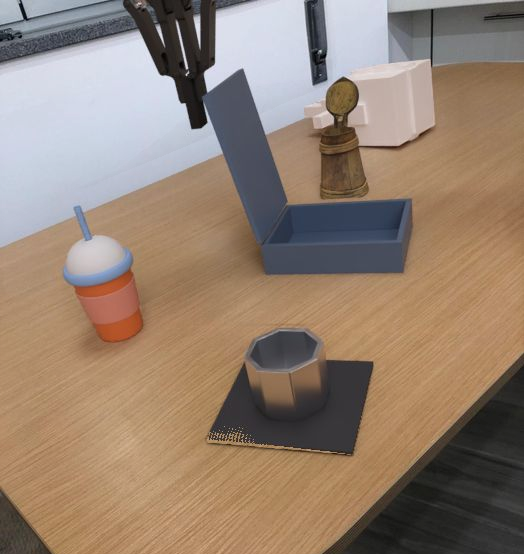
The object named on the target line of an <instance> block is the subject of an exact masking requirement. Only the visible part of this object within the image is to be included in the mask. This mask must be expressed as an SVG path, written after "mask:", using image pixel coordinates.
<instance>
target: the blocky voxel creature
mask: <svg viewBox="0 0 524 554" xmlns="http://www.w3.org/2000/svg"><path fill="white" fill-rule="evenodd" d="M431 63H432V62H431V58H428V59H427V58H426V59H418V60H409V61H408V60H407V61H400V62H399V61H398V62H391V63H381V64H373V65H372V66H363V67H358V68H355V69H353V70H351V71H350V75H349V76H347V77H346V78H348V79H349V80H351V81H353V82H354V83H355V84H356V86H357V88H358V91H359V100H358V104H357V106H356V107H355V109H354V110H353V111H352V112H351V113H350V114H349V115H348V126H347V127H354V128H355V132H356V134H357V136H358V140H359V144H358V146H359V147H360V146H361V147H367V146H368V147H399V146H401V145H403V144H405V143H406V142H412V141H413V140H415V139H416V138H418V137H419V136H420V134H422V133H424V132H425V131H427V130H430V129H431V128H432V127H434V126H435V125H436V116H435V104H434V103H435V102H434V89H433V75H432V64H431ZM303 114H304V118H305V119H310V118H311V119H312V125H313V129H314V130H315V129H324V128H326V127H328V126H333V125H334V117H333V116H332V115H331V114H330V113H329V112H328V111H327V109H326V97H323V98H321V99H318V100H317V101H316V103H310V104H308V105H306V106H303ZM340 115H341V114H340ZM342 115H344V114H342Z"/></svg>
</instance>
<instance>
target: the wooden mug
mask: <svg viewBox="0 0 524 554" xmlns="http://www.w3.org/2000/svg"><path fill="white" fill-rule="evenodd" d="M325 98H326V109H327V111H328V112H329V113H330V114H331V115H332V116H333V117H334V125H332V127H330V128H325V129H324V130H322V131H321V132H320V139H319V144H318V145H319V146H318V148H319V149H318V151H319V152H320V183H319V193H320V194H319V195H320V197H321V199H323V200H335V199H338V200H339V199H354V198H357V199H358V198H360V197H363V196H365V195H366V194H368V192H369V183H368V178H367V176H366V175H365V171H364V165H363V160H362V156H361V152H360V146H358V144H359V140H358V136H357V134H356V132H355V128H354V127H347V126H348V115H349V114H350V113H351V112H352V111H353V110H354V109H355V107H356V106H357V104H358V100H359V91H358V88H357V86H356V84H355V83H354V82H353V81H351V80H349V79H348V78H347V77H345V76H342V77H340V78H337V80H335V81H334V82H333V83H332V84H331V85H330V86H329V88H328V89H327V90H326V94H325ZM340 114H341V115H340ZM342 114H344V115H342Z"/></svg>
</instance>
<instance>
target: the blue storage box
mask: <svg viewBox="0 0 524 554" xmlns="http://www.w3.org/2000/svg"><path fill="white" fill-rule="evenodd" d="M413 224H414V221H413V198H411V197H407V198H393V199H392V198H390V199H389V198H388V199H372V200H371V199H370V200H355V201H354V200H353V201H334V202H315V203H314V202H313V203H295V204H286V205H285V207H284V208H283V210H282V212H281V213H280V215H279V217H278V218H277V220H276V221H275V223H274V225H273V226H272V228H271V229H270V231H269V233H268V234H267V236H266V237H265V239H264V241H263V242H262V243H261V244H260V251H261V257H262V262H263V267H264V272H265V276H269V275H270V276H273V275H277V276H279V275H280V276H281V275H344V274H345V275H346V274H349V275H350V274H351V275H352V274H403V273H404V270H405V265H406V261H407V257H408V251H409V247H410V241H411V237H412V232H413V226H414V225H413Z"/></svg>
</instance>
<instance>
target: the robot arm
mask: <svg viewBox="0 0 524 554" xmlns="http://www.w3.org/2000/svg"><path fill="white" fill-rule="evenodd" d="M217 1H218V0H200V5H199V38H198V33H197V28H196V24H195V19H194V15H195V11H194V10H195V9H194V6H193V2H194V0H123V1H122V6H123V8H124V9H125V10H126V11H127V13H128V14H129V15H130V16H131V17H132V19H133V20H134V22H135V25H136V27H137V29H138V31H139V33H140V35H141V38H142V40H143V42H144V44H145V46H146V48H147V51H148V53H149V55H150V58H151V60H152V62H153V64H154V66H155V69H156V70H157V73H158V75H160V76H161V77H165V76H166V77H169V78H171V79H172V80H173V81H174V85H175V90H176V94H177V98H178V101H179V103H180V104H185V109H186V113H187V117H188V121H189V125H190V129H191V130H201V129H202V128H204V127H205V126H206V125H208V123H209V122H208V115H207V111H206V107H205V104H204V102H203V99H202V97H203V96H204V95H205V94H207V93H208V88H207V84H206V79H205V73H206V71H208V70H209V69H211V68H212V67H214V66H215V64H216V37H217V36H216V35H217V34H216V33H217V31H216V30H217V29H216V28H217V27H216V26H217V25H216V24H217V23H216V22H217ZM147 3H148V4H149V6H150V7H151V8H152V9H153V10H154V14H155V18H156V22H157V23H158V24H159V27H160V32H161V35H160V33H159V31H158V28H157V26H156V25H155V22H154V20H153V17H152V15H151V13H150V11H149V10H148V8H147ZM177 24H178V25H177ZM161 36H162V38H161ZM180 38H181V40H180ZM181 42H182V43H181ZM182 47H183V49H182ZM183 51H184V52H183ZM184 56H185V57H184ZM185 61H186V63H185ZM186 65H187V67H186Z"/></svg>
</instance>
